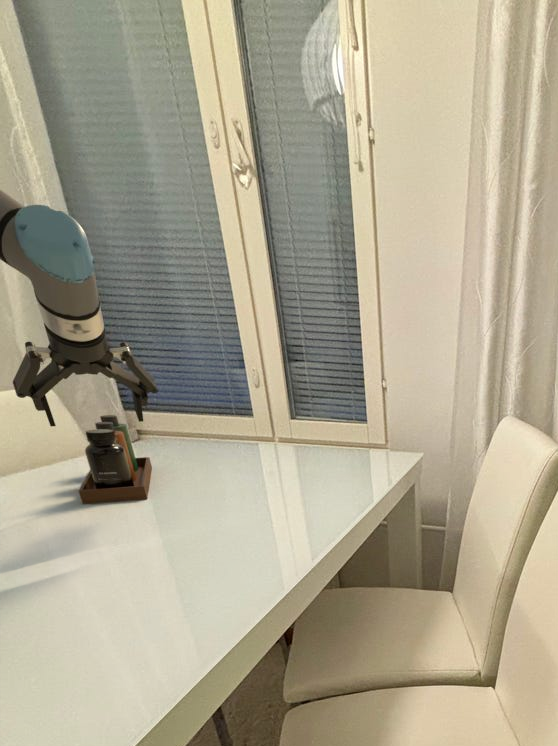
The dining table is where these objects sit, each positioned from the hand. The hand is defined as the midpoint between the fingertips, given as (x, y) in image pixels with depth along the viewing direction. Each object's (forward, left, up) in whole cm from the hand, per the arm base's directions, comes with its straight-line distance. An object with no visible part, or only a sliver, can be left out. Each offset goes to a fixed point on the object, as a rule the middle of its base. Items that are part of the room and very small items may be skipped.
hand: (96, 417), depth 99 cm
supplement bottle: (-2, +9, -16) cm, 18 cm away
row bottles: (-2, +24, -16) cm, 29 cm away
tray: (-2, +18, -16) cm, 25 cm away
